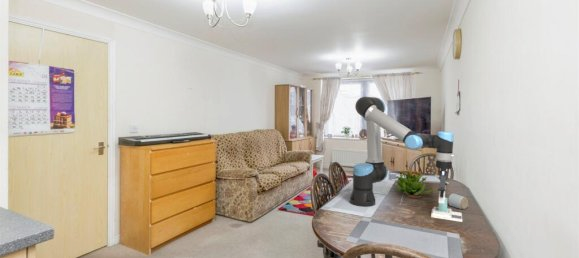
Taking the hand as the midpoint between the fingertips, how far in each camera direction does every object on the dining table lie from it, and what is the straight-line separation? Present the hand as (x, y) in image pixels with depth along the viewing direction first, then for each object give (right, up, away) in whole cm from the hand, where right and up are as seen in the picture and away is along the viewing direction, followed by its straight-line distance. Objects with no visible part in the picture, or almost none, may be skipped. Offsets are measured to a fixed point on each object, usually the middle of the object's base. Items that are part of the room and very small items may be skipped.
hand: (441, 199), depth 156 cm
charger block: (0, -7, 0) cm, 7 cm away
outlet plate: (+2, -8, -2) cm, 8 cm away
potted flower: (+1, -7, +36) cm, 37 cm away
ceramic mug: (+17, -8, +13) cm, 23 cm away
